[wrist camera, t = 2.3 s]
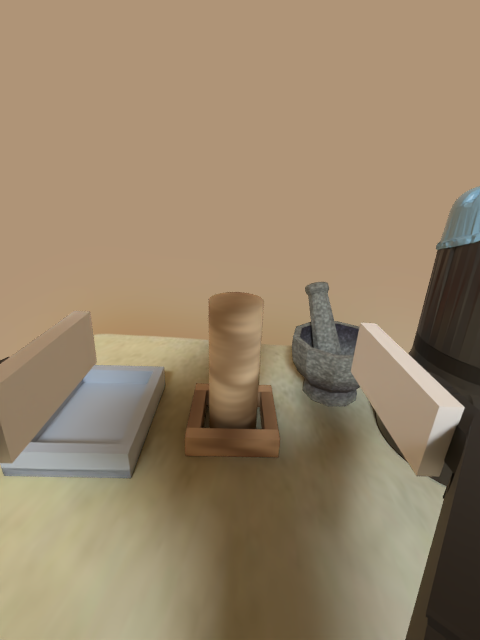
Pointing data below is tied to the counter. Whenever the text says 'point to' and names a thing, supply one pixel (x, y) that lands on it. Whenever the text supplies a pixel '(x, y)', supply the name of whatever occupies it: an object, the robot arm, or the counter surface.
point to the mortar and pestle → (325, 352)
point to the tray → (96, 426)
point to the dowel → (234, 359)
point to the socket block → (232, 430)
